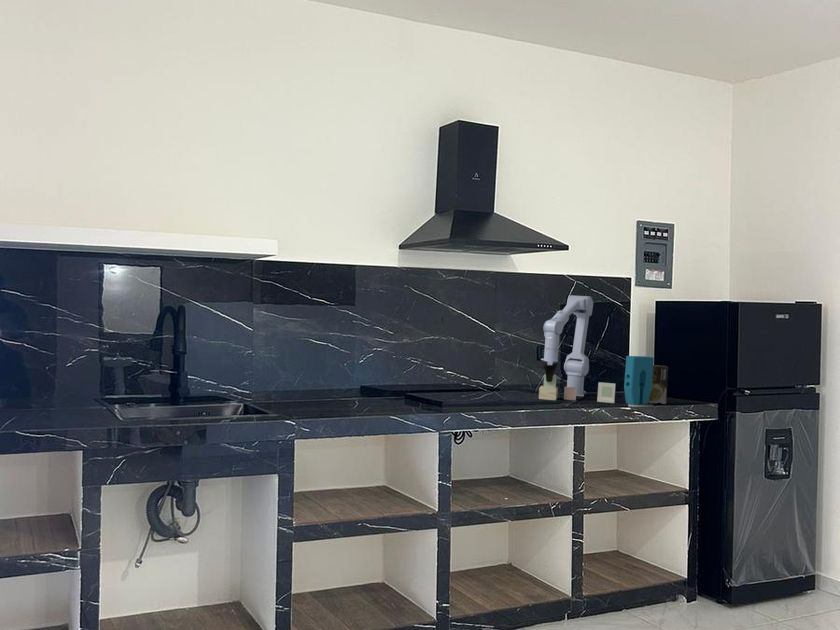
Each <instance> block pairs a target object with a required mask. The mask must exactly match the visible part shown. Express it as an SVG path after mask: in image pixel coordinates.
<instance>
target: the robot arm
mask: <svg viewBox="0 0 840 630" xmlns="http://www.w3.org/2000/svg"><path fill="white" fill-rule="evenodd" d="M593 307H594V301H593V298H592V296H589V295H588V296H586V295H585V296H584V295H574V294H571V295H569V296H568V298H567V301H566V305H565V306H564V308H563V309H561V310H558V311H557V312H556V313H555V314H554V315H553V317H552V318H550V319H548V320H546V321H545V322H544V323H543V329H542V330H543V333H544V334H543V336H544V338H545V339H544V353H543V354H544V355H543V358H540V360H541V361H544V363H543V364H542V365H543V368H544V371H545V375H546V381H547V382H552V379H553V375H555V371H556V369H557V366H558V363H557V362H558V361H559V359H558V358H559V345H560V344H559V343H560V335H561V334H562V332H563V329H564V326H565V325H566V324H567V322H568V321H569V320H570V315H572V314H573V316H574V315H575V316H576V323H575V331H574V336H573V337H574V338H573V346H572V352H571V353H569V354H567V355H566V358H565V362H564V365H563V370H564V372H565V375H567V380H566V387H576V397H584V396H585V394H584V385H585V384H584V382H585V377H586V376H587V375H588V373H589V371H590V364H589V363H590V359H589V358H588V357H587V356H586V355H585V347H586V342H587V341H586V340H587V333H588V329H589V328H588V326H589V319H590V317H592V315H593ZM545 362H547V363H545Z"/></svg>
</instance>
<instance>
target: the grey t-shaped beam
mask: <svg viewBox="0 0 840 630" xmlns="http://www.w3.org/2000/svg"><path fill="white" fill-rule="evenodd" d="M597 385H598V386H597V398H596V401H597V403H598V402H599V403H606V404H607V403H608V404H609V403H610V404H615V396H616V383H611V382H602V381H601V382H599V381H598V384H597Z"/></svg>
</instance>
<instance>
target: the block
mask: <svg viewBox="0 0 840 630" xmlns="http://www.w3.org/2000/svg"><path fill="white" fill-rule="evenodd" d="M625 358H626V359H625V372H624V384H623V385H624V386H623V389H624V391H623V392H624V399H625V404H628V405H634V406H636V405H637V406H639V405H644V406H645V404H647V405H648V404H649V403H648V400H649V396H650V393H651V388H652V375H653V365H654V361H655V360H654V359H655V357H652V356H645V355H644V356H642V355H641V356H639V355H626V357H625Z"/></svg>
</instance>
